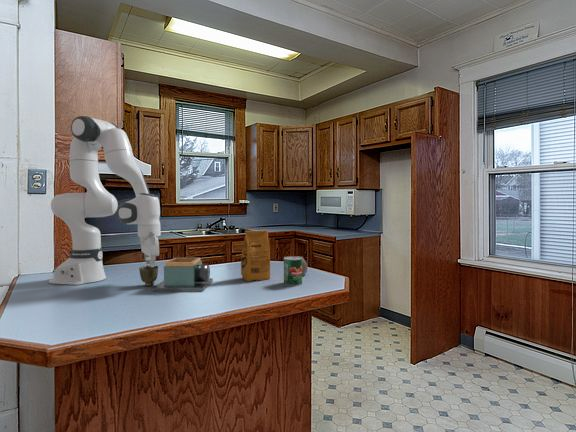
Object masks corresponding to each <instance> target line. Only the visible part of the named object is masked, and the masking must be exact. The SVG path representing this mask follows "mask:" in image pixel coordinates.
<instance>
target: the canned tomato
mask: <svg viewBox="0 0 576 432" xmlns="http://www.w3.org/2000/svg"><path fill="white" fill-rule="evenodd" d="M302 257H303V256H302ZM302 257H298V256H296V255H295V256H293V255H291V256H284V257H283V285H285V286H287V287H288V286H289V287H297V286H298V287H299V286H301V285H302V284H303V276H302Z"/></svg>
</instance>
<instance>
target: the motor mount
mask: <svg viewBox="0 0 576 432" xmlns="http://www.w3.org/2000/svg"><path fill="white" fill-rule="evenodd" d="M210 277H211V268H210V265H209V264H203V261H202V260H201V257H174V258H172V259H170V260H168V261H166V262H165V264H164V266H163V280H162V281H161V282H159V283H157V284H156V285H155V286H154V285H153V286H152V287H151V290H152V291H151V292H163V291H173V293H174V292H175V291H177V292H178V291H180V292H182V291H190V292H191V291H200V293H201V292H204V291H206V289H207V288H208V287H209V286H210V285H211V284H213V282H214V278H212V277H211V278H210ZM180 292H179V293H180ZM190 292H189V293H190ZM175 293H176V292H175ZM182 293H183V292H182ZM191 293H192V292H191Z"/></svg>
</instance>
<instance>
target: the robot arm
mask: <svg viewBox="0 0 576 432" xmlns="http://www.w3.org/2000/svg"><path fill="white" fill-rule="evenodd" d="M70 132H71V134H72V136H73V139H72V140H71V141H70V142H71V143H70V147H69V148H70V149H69V157H68V158H69V177H70V180H71V181H72V182H74V183H75V184H77V185H79V186H82V187H84V188H85V189H86V192H66V193H61V194H60V193H59V194H56V195H55V196H54V197H53V198H52V199H51V202H50V209H51V211H52V213H53V214H54V216H56V217H57V218H60V219H61V220H62V221H63V222H64V223H65V224H66V225H67V226H68V229H69V231H70V234H71V243H72V249H70V250H68V251H67V252H66V253H67V254H66V255H69V256H68V257H69V258H67V259H66V260H65V261H63V262H62V263H61V264H59V265H58V266H57V267H56V268H55V272H54V277H53V278H50V279H49V280H48V284H54V285H70V286H77V285H82V284H89V283H95V282H100V281H103V280H106V279H107V276H106V273H105V269H104V264H103V247H102V237H101V231H100V229H99V228H98V227H96V226H94V225H91V224H88V223H86V221H85V219H86V218H106V217H110V216H113V215H114V214H115V213H116V216H117V219H118V220H119V222H120V223H122V224H124V225H137V237H139V242H140V243H139V244H140V249H141V253H142V254H144V258H145V259H144V260H145V264H146V265H149V266H150V267H155V266H156V260H157V257H159V256H160V243H159V237H160V236H161V235H162V233H161V230H162V229H161V221H160V217H161V207H160V206H161V205H160V199H159V197H158V196H157V195H156V194H155V193H151V192H150V189H149V186H148V184H147V181H146V177H145V176H144V173H143V172H142V170H141V168H140V167H139V165H138V163H137V161H136V159H135V157H134V152H133V149H132V145H131V143H130V140H129V137H128V135H127V133H126V131H124V129H121V128H120V127H119V126H118V125H117V124H115V123H113V122H110V121H107V120H103V119H101V118H94V117H90V116H88V115H80V116H76V117H75V118H74V119H73V120H72V121H71V125H70ZM100 149H102V150H103V153H104V158H105V163H106V165H107V167H108V169H109V171H111V172H112V173H113V174H114V175H116V176H119V177H121V178H122V179H124V180H125V181H127V182H128V183H129V184H130V185H131V186H132V189H133V192H134V193H135V197H134V198H132V199H131V200H128V201H125V202H124V201H123V202H122V203H120V205H118V203H119V202H118V200H117V198H116V197H115V195H114V194H112V193H110V192H109V191H108V190H107V189H106V188H105V187H104V185H103V184H102V182H101V178H100V174H99V173H100V171H99V156H98V155H99V150H100Z"/></svg>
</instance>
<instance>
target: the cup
mask: <svg viewBox="0 0 576 432" xmlns="http://www.w3.org/2000/svg"><path fill="white" fill-rule="evenodd" d="M138 269H139V276H140V280H141V282H143V283H144V286H145V287H154V284H155V282H156V281H157V278H158V274H159V265H155V267H150V265H149V264H146V266H145V265H143V266H140V267H139V268H138Z"/></svg>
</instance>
